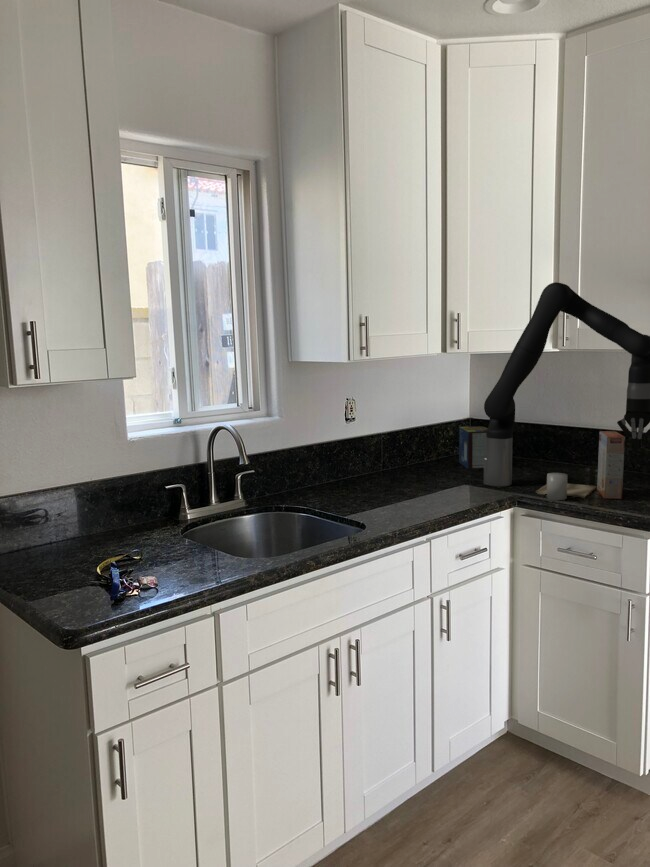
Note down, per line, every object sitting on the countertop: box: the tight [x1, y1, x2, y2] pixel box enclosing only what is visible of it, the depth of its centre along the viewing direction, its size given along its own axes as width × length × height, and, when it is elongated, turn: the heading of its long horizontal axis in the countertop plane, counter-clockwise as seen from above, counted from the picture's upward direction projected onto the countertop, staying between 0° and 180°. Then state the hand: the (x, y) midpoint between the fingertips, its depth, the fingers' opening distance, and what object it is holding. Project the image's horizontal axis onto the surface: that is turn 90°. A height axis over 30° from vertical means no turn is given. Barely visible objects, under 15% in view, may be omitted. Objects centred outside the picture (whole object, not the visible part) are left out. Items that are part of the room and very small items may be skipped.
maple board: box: [535, 482, 597, 499], centre depth 248 cm, size 16×18×1 cm
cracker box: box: [596, 430, 626, 500], centre depth 240 cm, size 14×6×21 cm, turn 168°
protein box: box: [458, 425, 488, 470], centre depth 299 cm, size 10×15×16 cm
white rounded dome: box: [545, 472, 568, 501], centre depth 237 cm, size 6×6×8 cm
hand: (636, 449), depth 235 cm, fingers closed
